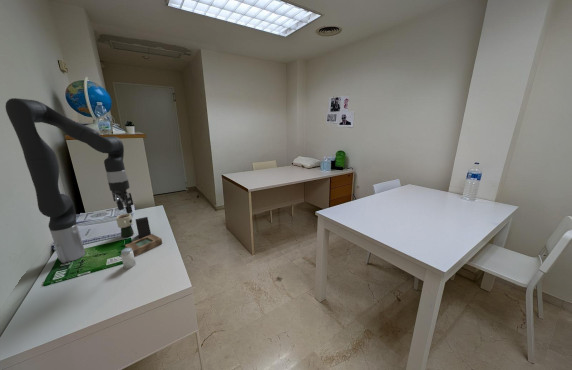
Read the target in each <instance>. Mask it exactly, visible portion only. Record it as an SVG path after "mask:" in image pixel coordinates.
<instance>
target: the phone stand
mask: <svg viewBox="0 0 572 370" xmlns="http://www.w3.org/2000/svg"><path fill="white" fill-rule="evenodd" d="M135 224H136V227H137V228H136V230H137V234H138V237H139V239H141V238H143V237H146V236H148V235H151V234H152V233H151V228H150V222H149V217H148V216H144V217H141V218H135Z"/></svg>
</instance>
